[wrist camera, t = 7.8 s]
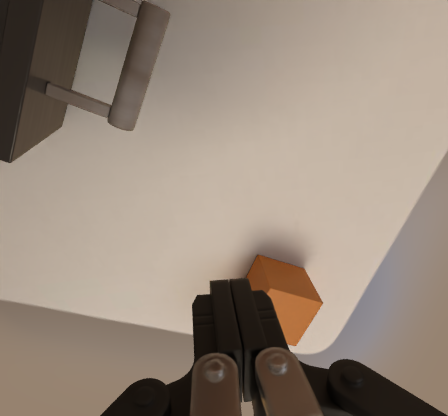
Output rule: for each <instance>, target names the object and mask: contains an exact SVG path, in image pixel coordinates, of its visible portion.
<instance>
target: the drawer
mask: <svg viewBox="0 0 448 416" xmlns="http://www.w3.org/2000/svg"><path fill="white" fill-rule="evenodd" d="M99 1H101V2H104V3H106V4H108V5H110V6H112V7H115V8H117V9H119V10H121V11H123V12H126V13H128V14H130V15H132V16H134V17H136V18H137V20H136V23H135V27H134V30H133V34H132V37H131V41H130V44H129V47H128V51H127V54H126V58H125V61H124V65H123V68H122V71H121V75H120V78H119V82H118V85H117V89H116V92H115V96H114V99H113V102H112V106H111V105H109V104H107V103H104V102H102V101H99V100H96V99H94V98H91V97H89V96H86V95H83V94H81V93H78V92H76V91H73V90H71V88H72V83H73V79H74V75H75V71H76V67H77V63H78V59H79V55H80V51H81V47H82V43H83V39H84V35H85V30H86V26H87V22H88V18H89V14H90V10H91V6H92V2H93V0H0V160H2V161H5V162H8V163H12V162H13V161H14V160H16V159H17V158H19V157H20V156H21V155H23V154H24V153H26V152H27V151H28V150H30V149H31V148H33V147H34V146H35V145H37V144H38V143H40V142H41V141H42V140H44V139H45V138H47V137H48V136H49V135H51V134H52V133H54V132H55V131H56V130H58V129H59V128H61V127H62V124H63V120H64V116H65V112H66V108H67V104H71V105H73V106H76V107H79V108H81V109H84V110H87V111H89V112H92V113H95V114H97V115H100V116H103V117H105V118H107V117H108V123H109V124H111V125H112V126H114V127H116V128H119V129H122V130H126V131H133V130H134V127H135V124H136V121H137V118H138V115H139V112H140V109H141V106H142V102H143V99H144V96H145V93H146V90H147V87H148V84H149V81H150V78H151V74H152V71H153V68H154V65H155V62H156V59H157V56H158V53H159V50H160V46H161V43H162V40H163V37H164V34H165V31H166V28H167V25H168V22H169V18H170V13H169V12H168V11H166V10H164V9H162V8H160V7H158V6H156V5H154V4H152V3H149V2H147V1H142V3H141V4H140V3H138V2H135V1H133V0H99Z"/></svg>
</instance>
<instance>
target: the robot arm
mask: <svg viewBox="0 0 448 416" xmlns="http://www.w3.org/2000/svg"><path fill="white" fill-rule="evenodd" d="M192 313H193V337H194V363H193V366H192V368H191V370H190V371H189V372H188V373H187V374H186V375H185V376H184V377H182V378H181V379H179V380H177V381H175V382H172V383H170V384H167V385H165V384H164V383H163V382H162V381H160V380H158V379H153V378H146V379H142V380H139V381H137V382H135V383H133V384H132V385H130V386H129V387H128V388H127V389H126V390H125V391H124V392H123V393H122V394H121V395H120V396H119V397H118V398H117V399H116V400H115V401H114V402H113V403H112V404H111V405H110V406H109V407H108V408H107V410H105V411H104V412H103V413H102V415H100V416H242V414H241V402H242V393H243V398H244V402H248V401H252V405H253V410H254V416H447V415H446V414H444V413H442V412H441V411H439V410H437V409H436V408H434V407H433V406H431V405H429V404H428V403H425V402H424V401H423V400H421V399H419V398H418V397H416V396H414V395H413V394H411V393H409V392H408V391H406V390H405V389H403V388H401V387H399V386H398V385H396V384H394V383H393V382H391V381H390V380H388V379H386V378H385V377H383V376H381V375H380V374H378V373H376V372H375V371H373V370H371V369H370V368H368V367H367V366H365V365H363V364H361V363H359V362H357V361H354V360H348V359H343V360H338V361H336V362H334V363H333V364H331V366H330V367H329V369H324V368H319V367H313V366H309V365H306V364H304V363H302V362H301V361H299V360H298V358H297V357H296V356H295V355H294V354H293V353H292V352H290V350H289V348H288V345H287V342H286V339H285V336H284V334H283V331H282V328H281V325H280V322H279V319H278V318H277V314H276V311H275V308H274V305H273V302H272V299H271V298H270V297H269V296H268V295H267V294H266V293H265V292H264V291H263V290H254V291H252V289H251V285H250V282H249V279H248V278H239V279H229V280H228V279H227V280H214V281H210V294H206V295H197V297H196V299H195V300H194V302H193V304H192Z"/></svg>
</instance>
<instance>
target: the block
mask: <svg viewBox="0 0 448 416" xmlns="http://www.w3.org/2000/svg"><path fill="white" fill-rule="evenodd" d="M246 278H248V279H249V282H250V285H251V289H252V291H254V290H263V291H264V292H265V293H266V294H267V295H268V296H269V297H270V298H271V299H272V302H273V305H274V308H275V311H276V314H277V318H278V319H279V322H280V325H281V328H282V331H283V334H284V336H285V339H286V342H287V344H289V345H293V346H296V345H297V343H298V342H299V340H300V339H301V337H302V336H303V334H304V332H305V331H306V329H307V328H308V326H309V325H310V323H311V321H312V320H313V318H314V317H315V315H316V314H317V312H318V310H319V309H320V307H321V306H322V304H323V302H322V300H321V298H320V297H319V295H318V293H317V291H316V289H315V287H314V286H313V284H312V282H311V280H310V278H309V276H308V275H307V273H306V271H305V269H303V268H300V267H297V266H293V265H290V264H287V263H284V262H281V261H277V260H274V259H271V258H268V257H265V256H261V255H258V256H257V257H256V259H255V261H254V263H253V265H252V267H251V269H250V271H249V273H248V275H247V277H246Z"/></svg>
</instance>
